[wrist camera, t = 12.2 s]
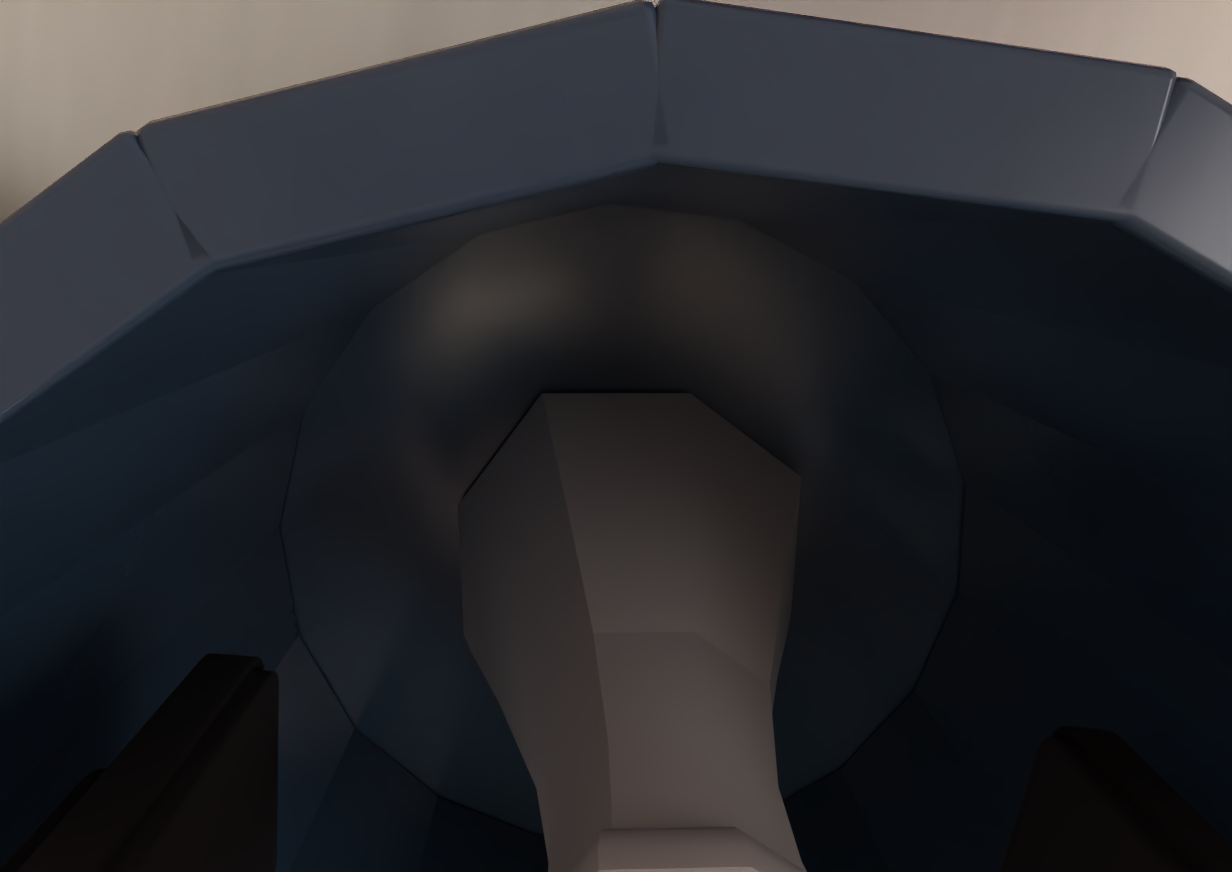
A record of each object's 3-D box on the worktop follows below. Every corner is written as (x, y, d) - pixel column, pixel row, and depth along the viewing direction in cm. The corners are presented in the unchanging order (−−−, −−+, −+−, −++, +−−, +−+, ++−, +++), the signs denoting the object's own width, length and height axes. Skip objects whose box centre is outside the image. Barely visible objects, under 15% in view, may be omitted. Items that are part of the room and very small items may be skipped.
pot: (251, 113, 15) (-815, -223, 4) (1075, 220, 16) (2273, 223, 5) (249, 824, 19) (-250, 1718, 8) (906, 872, 20) (1322, 1723, 9)
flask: (728, 740, 18) (894, 1352, 8) (413, 652, 17) (185, 1221, 7) (855, 445, 16) (1253, 781, 6) (511, 332, 15) (383, 523, 6)
